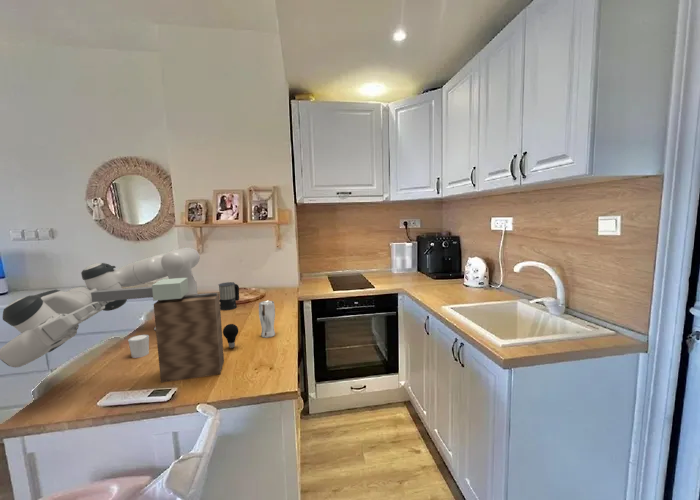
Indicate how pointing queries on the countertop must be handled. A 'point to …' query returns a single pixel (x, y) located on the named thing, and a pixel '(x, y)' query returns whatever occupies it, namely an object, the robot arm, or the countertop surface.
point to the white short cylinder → (139, 345)
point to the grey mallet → (146, 291)
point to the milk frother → (228, 295)
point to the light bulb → (230, 334)
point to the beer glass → (267, 318)
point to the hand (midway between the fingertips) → (101, 302)
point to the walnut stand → (189, 336)
